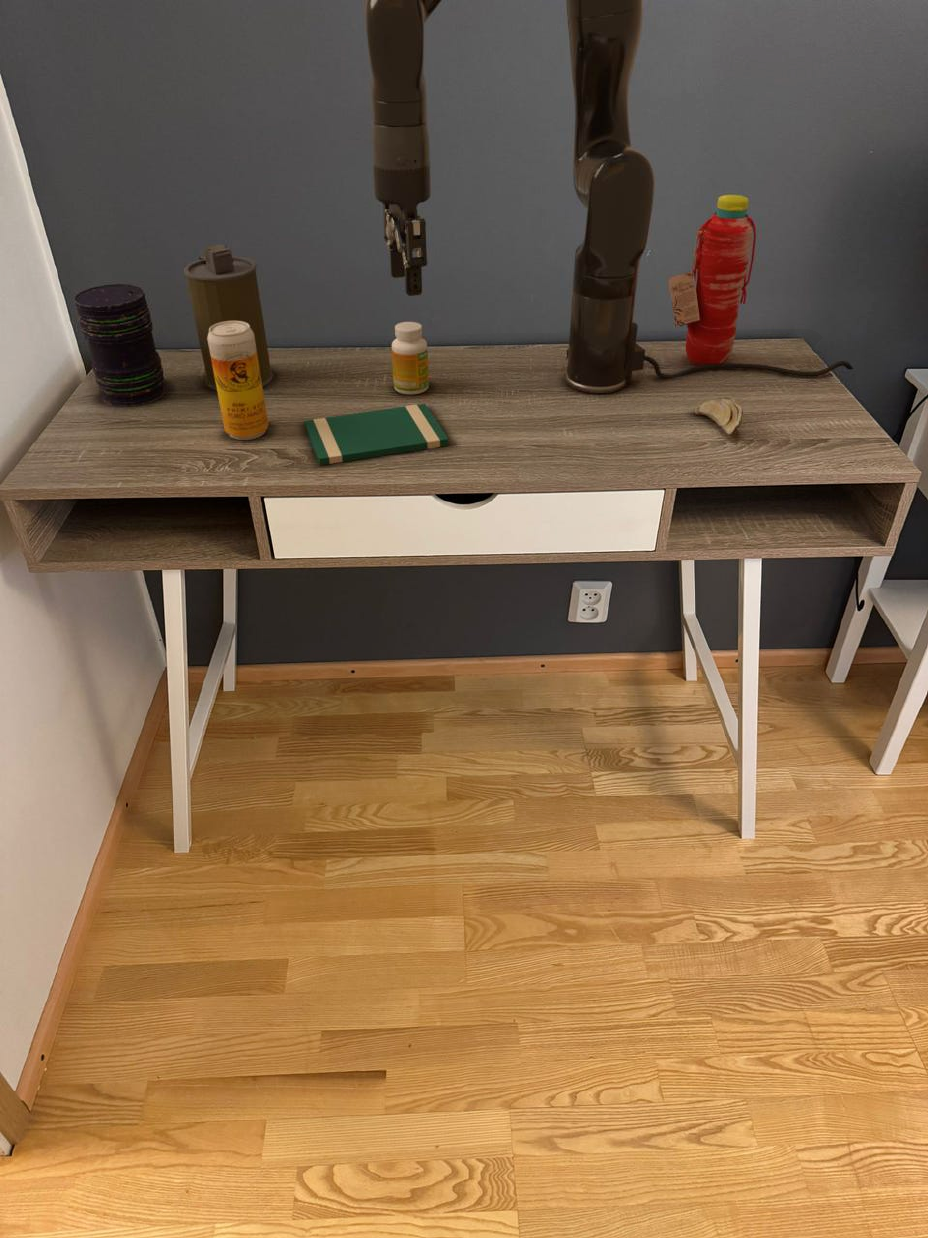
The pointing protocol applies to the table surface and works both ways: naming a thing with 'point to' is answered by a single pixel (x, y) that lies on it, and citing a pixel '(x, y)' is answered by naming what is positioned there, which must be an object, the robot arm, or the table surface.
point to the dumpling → (723, 413)
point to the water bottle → (715, 282)
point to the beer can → (238, 379)
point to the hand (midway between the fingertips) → (406, 285)
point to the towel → (374, 433)
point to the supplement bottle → (410, 359)
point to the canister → (226, 302)
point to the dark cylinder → (121, 344)
